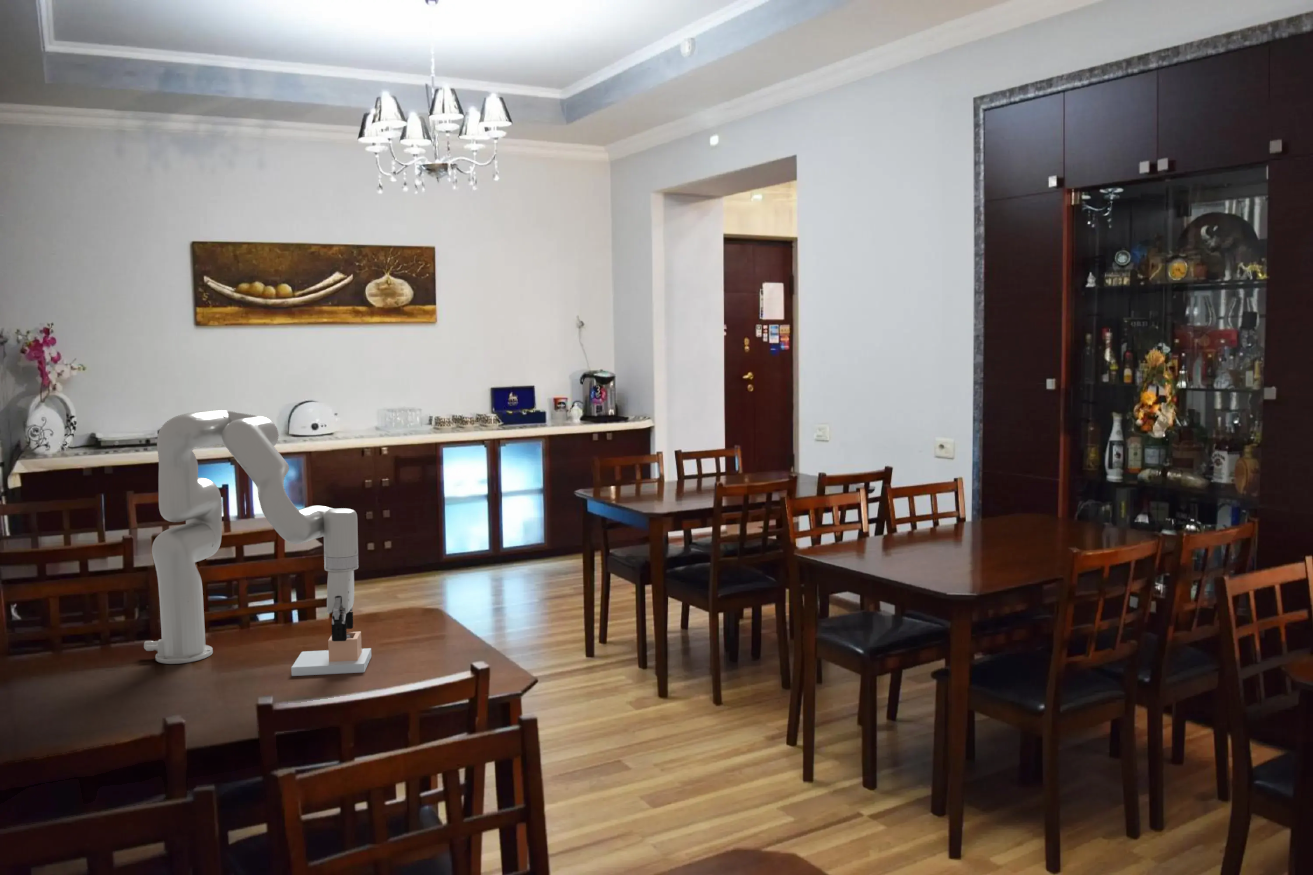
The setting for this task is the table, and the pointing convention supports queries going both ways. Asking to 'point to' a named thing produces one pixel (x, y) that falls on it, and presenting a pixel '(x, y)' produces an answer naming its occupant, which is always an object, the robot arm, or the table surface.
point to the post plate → (328, 663)
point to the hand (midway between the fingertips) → (342, 634)
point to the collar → (345, 648)
